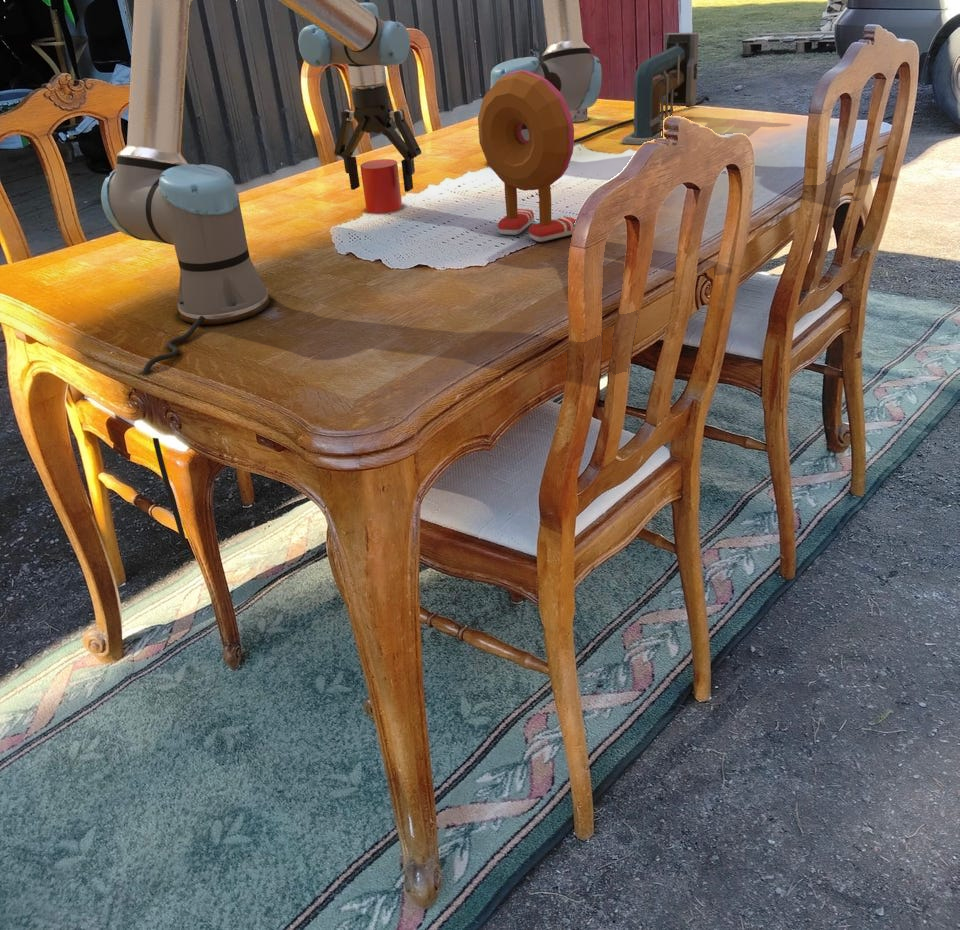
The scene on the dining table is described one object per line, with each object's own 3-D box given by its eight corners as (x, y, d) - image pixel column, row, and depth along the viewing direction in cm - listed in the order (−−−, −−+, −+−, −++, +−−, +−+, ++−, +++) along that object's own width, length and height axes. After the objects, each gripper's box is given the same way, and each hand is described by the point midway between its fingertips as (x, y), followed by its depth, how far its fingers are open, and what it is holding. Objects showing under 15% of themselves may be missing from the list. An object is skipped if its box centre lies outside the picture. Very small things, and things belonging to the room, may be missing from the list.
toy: (594, 233, 186) (591, 67, 171) (560, 248, 180) (555, 77, 165) (511, 217, 199) (502, 62, 184) (477, 231, 193) (465, 71, 178)
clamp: (652, 144, 244) (653, 54, 234) (619, 143, 248) (619, 54, 237) (695, 115, 270) (698, 32, 259) (665, 114, 274) (667, 33, 263)
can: (406, 202, 216) (401, 158, 211) (396, 213, 209) (391, 168, 204) (372, 203, 217) (366, 159, 212) (361, 213, 211) (355, 168, 206)
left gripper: (430, 81, 199) (440, 186, 209) (326, 82, 207) (341, 182, 218) (414, 88, 193) (425, 195, 204) (308, 89, 202) (324, 191, 213)
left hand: (382, 189), depth 211 cm, fingers open, 12 cm apart
